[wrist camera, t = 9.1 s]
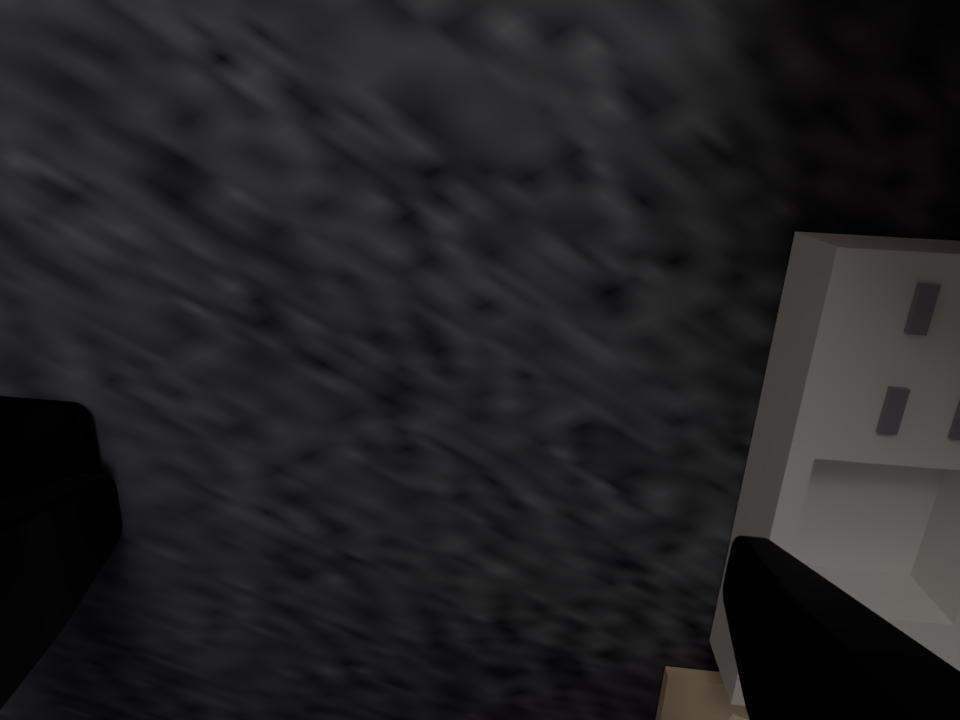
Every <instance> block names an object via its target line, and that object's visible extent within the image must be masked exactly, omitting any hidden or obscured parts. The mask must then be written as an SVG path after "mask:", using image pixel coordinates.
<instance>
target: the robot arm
mask: <svg viewBox="0 0 960 720" xmlns="http://www.w3.org/2000/svg"><path fill="white" fill-rule="evenodd" d="M70 413H72V414H73V415H74V416H75V418H76V420H75V419H73V418H72V417H71V415H70ZM121 532H122V518H121V512H120V506H119V499H118V493H117V487H116V484H115V482H114V480H113V479H112V478H110V477H109V476H104V475H100V474H99V468H98V463H97V457H96V451H95V446H94V440H93V434H92V429H91V423H90V417H89V414H88V411H87V409H86V408H85V407H84V406H83V405H81V404H80V403H76V402H68V401H56V400H43V399H31V398H19V397H6V396H0V710H1V709H2V707H3V706H4V705H5V703H6V702H7V701H8V699H9V698H10V697H11V696H12V694H13V693H14V692H15V690H16V689H17V688H18V687H19V685H20V684H21V683H22V681H23V680H24V679H25V677H26V676H27V675H28V674H29V672H30V671H31V670H32V668H33V667H34V666H35V665H36V663H37V662H38V661H39V659H40V658H41V657H42V655H43V654H44V653H45V652H46V650H47V649H48V648H49V646H50V645H51V644H52V642H53V641H54V640H55V638H56V637H57V636H58V634H59V633H60V631H61V630H62V629H63V627H64V626H65V624H66V623H67V621H68V620H69V618H70V617H71V615H72V614H73V612H74V610H75V609H76V607H77V606H78V604H79V603H80V601H81V599H82V598H83V596H84V595H85V593H86V591H87V590H88V588H89V587H90V585H91V584H92V582H93V580H94V579H95V577H96V576H97V574H98V573H99V571H100V569H101V568H102V566H103V565H104V563H105V562H106V560H107V558H108V557H109V555H110V554H111V552H112V551H113V549H114V547H115V546H116V544H117V543H118V541H119V538H120V536H121ZM723 602H724V608H725V612H726V617H727V622H728V627H729V632H730V636H731V641H732V646H733V651H734V656H735V660H736V665H737V670H738V675H739V680H740V684H741V689H742V694H743V698H744V702H745V706H746V710H747V713H748V716H749V720H960V671H959V670H957V669H956V668H954V667H953V666H952V665H950V664H949V663H947V662H946V661H944V660H943V659H941V658H940V657H938V656H937V655H936V654H934V653H933V652H931V651H930V650H928V649H927V648H925V647H924V646H923V645H921V644H920V643H918V642H917V641H915V640H914V639H912V638H911V637H910V636H908V635H907V634H905V633H904V632H902V631H901V630H899V629H898V628H897V627H895V626H894V625H892V624H891V623H889V622H888V621H886V620H885V619H884V618H882V617H881V616H879V615H878V614H876V613H875V612H873V611H872V610H871V609H869V608H868V607H866V606H865V605H863V604H862V603H860V602H859V601H857V600H856V599H855V598H853V597H852V596H850V595H849V594H847V593H846V592H844V591H843V590H842V589H840V588H839V587H837V586H836V585H834V584H833V583H831V582H830V581H829V580H827V579H826V578H824V577H823V576H821V575H820V574H818V573H817V572H816V571H814V570H813V569H811V568H810V567H808V566H807V565H805V564H804V563H803V562H801V561H800V560H798V559H797V558H795V557H794V556H792V555H791V554H790V553H788V552H787V551H785V550H784V549H782V548H781V547H779V546H778V545H776V544H775V543H774V542H772V541H771V540H769V539H767V538H764V537H754V536H743V535H740V536H737V537H736V538H735V539H734V541H733V543H732V546H731V550H730V555H729V559H728V564H727V569H726V573H725V578H724V582H723Z"/></svg>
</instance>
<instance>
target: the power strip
mask: <svg viewBox="0 0 960 720" xmlns="http://www.w3.org/2000/svg"><path fill="white" fill-rule="evenodd" d="M740 535H743V536H754V537H764V538H767V539H769V540H771V541H772V542H774V543H775V544H776V545H778V546H779V547H781V548H782V549H784V550H785V551H787V552H788V553H790V554H791V555H792V556H794V557H795V558H797V559H798V560H800V561H801V562H803V563H804V564H805V565H807V566H808V567H810V568H811V569H813V570H814V571H816V572H817V573H818V574H820V575H821V576H823V577H824V578H826V579H827V580H829V581H830V582H831V583H833V584H834V585H836V586H837V587H839V588H840V589H842V590H843V591H844V592H846V593H847V594H849V595H850V596H852V597H853V598H855V599H856V600H857V601H859V602H860V603H862V604H863V605H865V606H866V607H868V608H869V609H871V610H872V611H873V612H875V613H876V614H878V615H879V616H881V617H882V618H884V619H885V620H886V621H888V622H889V623H891V624H892V625H894V626H895V627H897V628H898V629H899V630H901V631H902V632H904V633H905V634H907V635H908V636H910V637H911V638H912V639H914V640H915V641H917V642H918V643H920V644H921V645H923V646H924V647H925V648H927V649H928V650H930V651H931V652H933V653H934V654H936V655H937V656H938V657H940V658H941V659H943V660H944V661H946V662H947V663H949V664H950V665H952V666H953V667H954V668H956V669H957V670H959V671H960V241H954V240H936V239H919V238H901V237H883V236H866V235H848V234H831V233H813V232H796V231H795V234H794V239H793V243H792V248H791V253H790V258H789V263H788V267H787V272H786V277H785V282H784V286H783V291H782V296H781V301H780V306H779V310H778V315H777V320H776V325H775V329H774V334H773V339H772V344H771V348H770V353H769V358H768V363H767V368H766V372H765V377H764V382H763V387H762V391H761V396H760V401H759V406H758V411H757V415H756V420H755V425H754V430H753V434H752V439H751V444H750V449H749V454H748V458H747V463H746V468H745V473H744V477H743V482H742V487H741V492H740V496H739V501H738V506H737V511H736V516H735V520H734V525H733V530H732V535H731V539H730V544H729V549H728V554H727V559H726V563H725V568H724V573H723V578H722V582H721V587H720V592H719V597H718V601H717V606H716V611H715V616H714V621H713V625H712V630H711V635H710V640H709V641H710V644H711V647H712V650H713V653H714V656H715V659H716V662H717V665H718V668H719V671H720V674H721V677H722V680H723V683H724V686H725V689H726V692H727V695H728V698H729V701H730V704H731V705H741V706H745V702H744V698H743V694H742V689H741V684H740V680H739V675H738V670H737V665H736V660H735V656H734V651H733V646H732V641H731V636H730V632H729V627H728V622H727V617H726V612H725V608H724V602H723V582H724V578H725V573H726V569H727V564H728V559H729V555H730V550H731V546H732V543H733V541H734V539H735V538H736V537H737V536H740Z"/></svg>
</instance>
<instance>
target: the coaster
mask: <svg viewBox="0 0 960 720" xmlns="http://www.w3.org/2000/svg"><path fill="white" fill-rule="evenodd" d="M732 714H734V715H736V716H739V717H742V718H744V719H747V720H749V716H748V713H747V710H746V706H741V705H731V704H730V701H729V698H728V695H727V692H726V689H725V686H724V683H723V680H722V677H721V674H720V672H716V671H706V670H697V669H687V668H678V667H668V666H665V670H664V676H663V681H662V687H661V692H660V698H659V703H658V709H657V714H656V720H729V718H730V717H731V715H732Z"/></svg>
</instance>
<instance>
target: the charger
mask: <svg viewBox="0 0 960 720" xmlns="http://www.w3.org/2000/svg"><path fill="white" fill-rule="evenodd" d="M729 720H747V719H744V718H742V717H739V716H736V715H734V714H732V715H731V717H730V718H729Z"/></svg>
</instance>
